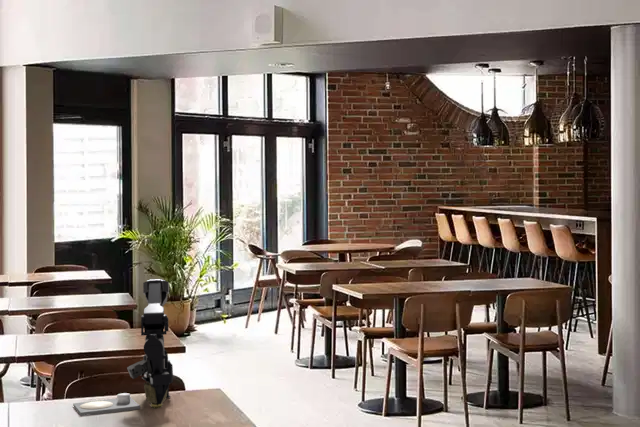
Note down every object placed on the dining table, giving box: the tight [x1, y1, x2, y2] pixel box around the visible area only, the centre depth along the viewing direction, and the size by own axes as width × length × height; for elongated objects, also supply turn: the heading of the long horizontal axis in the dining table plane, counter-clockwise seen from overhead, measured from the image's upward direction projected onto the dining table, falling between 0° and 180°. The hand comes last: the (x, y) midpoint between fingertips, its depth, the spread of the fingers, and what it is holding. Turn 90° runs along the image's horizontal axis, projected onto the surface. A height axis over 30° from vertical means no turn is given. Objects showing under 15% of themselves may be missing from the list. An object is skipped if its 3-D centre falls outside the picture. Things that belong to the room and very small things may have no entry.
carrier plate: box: [72, 392, 141, 417], centre depth 300 cm, size 18×14×4 cm
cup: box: [143, 381, 168, 410], centre depth 298 cm, size 8×7×8 cm
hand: (156, 401), depth 298 cm, fingers closed on cup, 6 cm apart
